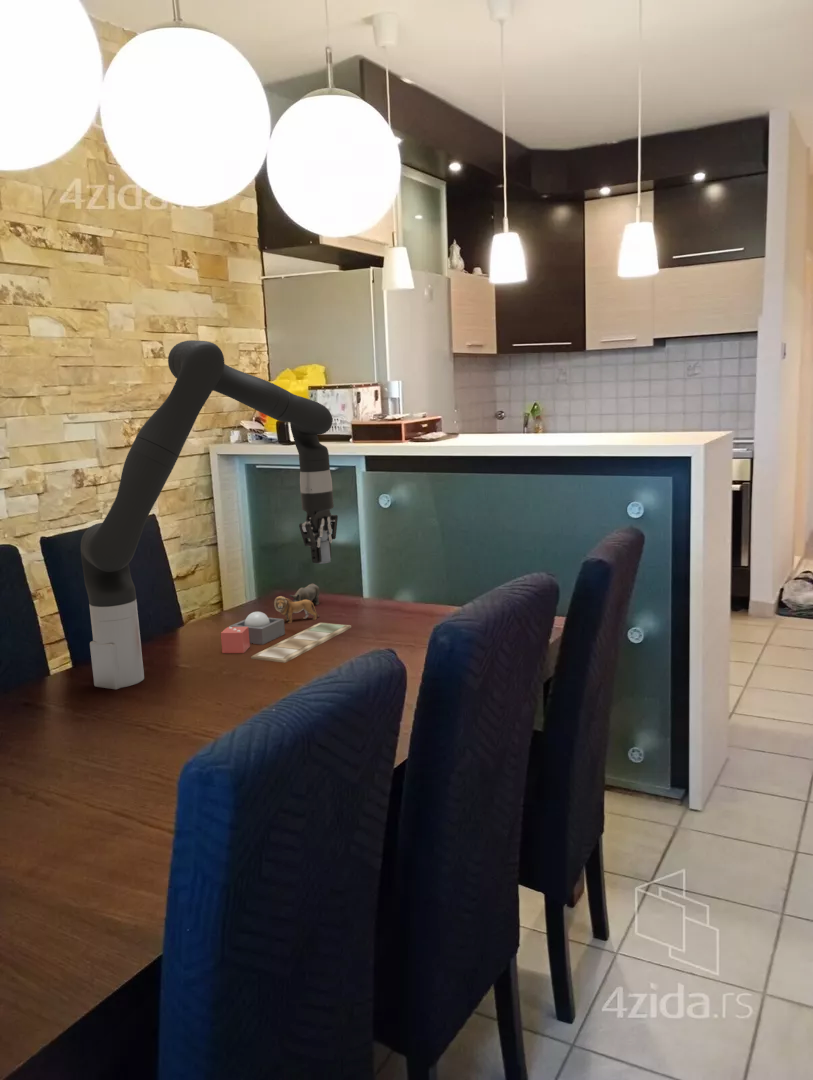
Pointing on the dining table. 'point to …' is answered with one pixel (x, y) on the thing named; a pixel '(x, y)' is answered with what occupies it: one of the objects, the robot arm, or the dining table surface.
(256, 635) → the dome collar
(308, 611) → the lion figurine
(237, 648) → the die
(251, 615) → the dome
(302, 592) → the rhino figurine
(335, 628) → the board
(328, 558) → the pawn
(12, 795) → the dining table surface
